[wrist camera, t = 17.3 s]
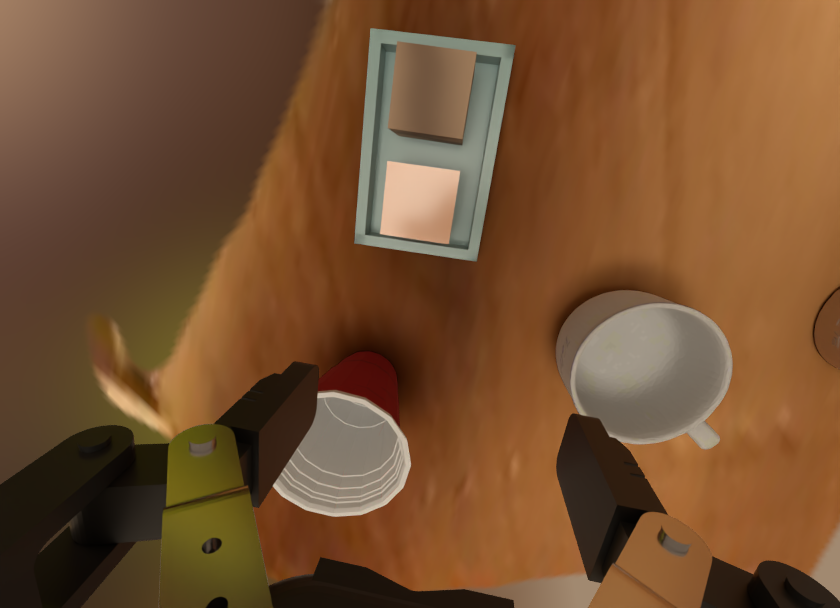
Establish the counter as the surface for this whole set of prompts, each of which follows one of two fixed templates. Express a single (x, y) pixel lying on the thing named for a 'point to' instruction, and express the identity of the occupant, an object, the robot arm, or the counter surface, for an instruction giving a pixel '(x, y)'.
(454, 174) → the terracotta cube
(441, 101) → the walnut cube
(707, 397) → the teacup
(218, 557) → the robot arm
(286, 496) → the plastic cup
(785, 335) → the counter surface
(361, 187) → the tray
